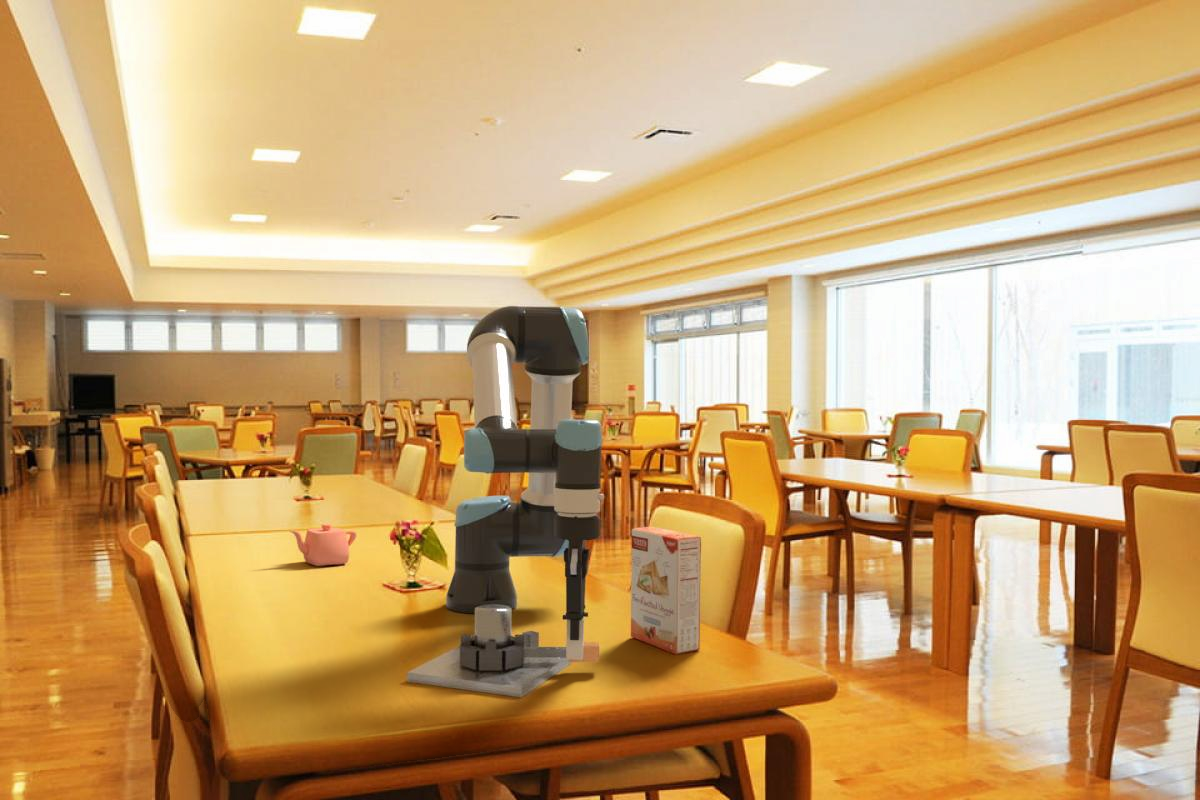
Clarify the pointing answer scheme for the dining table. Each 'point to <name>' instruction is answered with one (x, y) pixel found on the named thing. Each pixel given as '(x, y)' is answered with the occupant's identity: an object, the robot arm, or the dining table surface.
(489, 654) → the wrench
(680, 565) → the cracker box
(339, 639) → the dining table surface
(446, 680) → the flange plate
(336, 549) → the teapot
